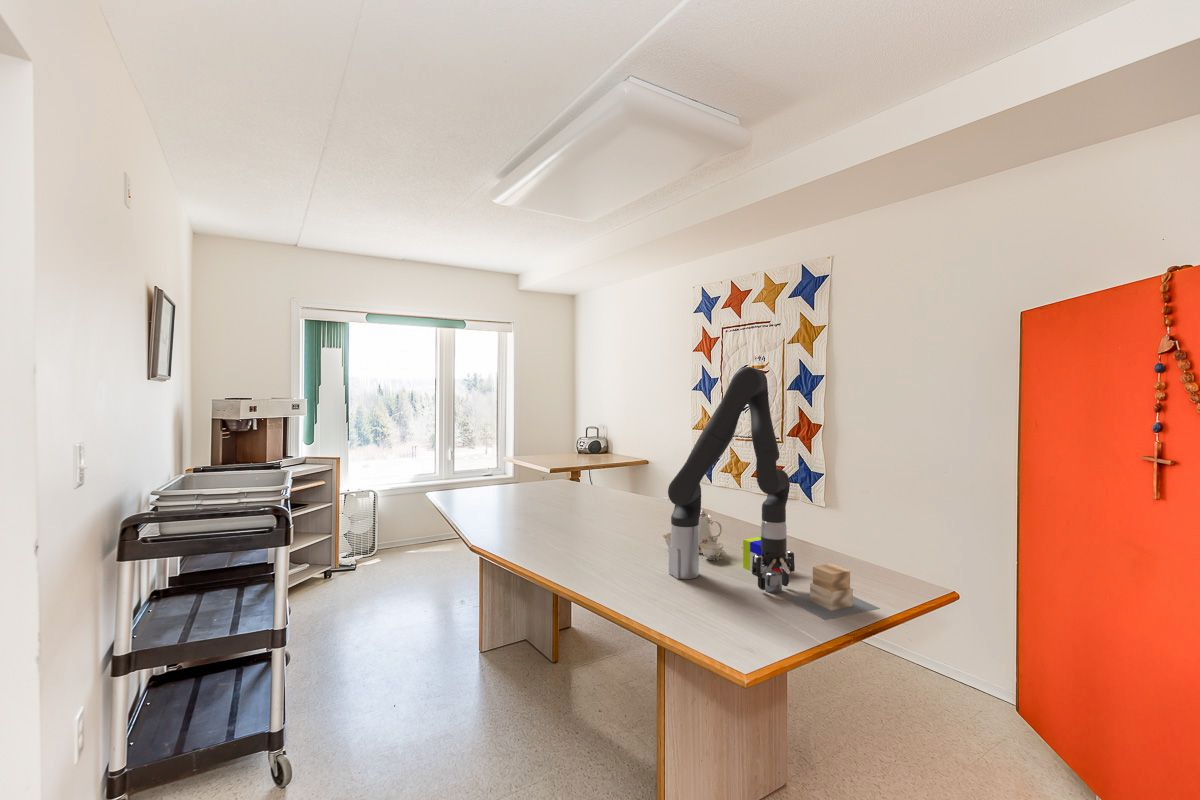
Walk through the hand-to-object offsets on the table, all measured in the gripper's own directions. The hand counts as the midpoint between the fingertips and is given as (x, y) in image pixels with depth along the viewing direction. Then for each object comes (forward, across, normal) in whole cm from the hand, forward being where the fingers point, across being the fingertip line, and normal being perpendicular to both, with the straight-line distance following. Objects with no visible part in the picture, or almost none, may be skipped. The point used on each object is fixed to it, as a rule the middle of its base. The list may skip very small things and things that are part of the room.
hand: (773, 587), depth 164 cm
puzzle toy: (+2, +11, +18) cm, 21 cm away
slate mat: (+2, +9, -14) cm, 17 cm away
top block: (-4, +9, -14) cm, 17 cm away
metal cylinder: (+2, 0, 0) cm, 2 cm away
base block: (+1, +9, -14) cm, 17 cm away
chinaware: (+2, 0, +44) cm, 44 cm away
